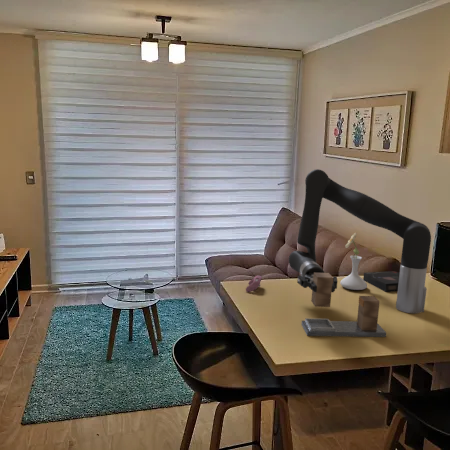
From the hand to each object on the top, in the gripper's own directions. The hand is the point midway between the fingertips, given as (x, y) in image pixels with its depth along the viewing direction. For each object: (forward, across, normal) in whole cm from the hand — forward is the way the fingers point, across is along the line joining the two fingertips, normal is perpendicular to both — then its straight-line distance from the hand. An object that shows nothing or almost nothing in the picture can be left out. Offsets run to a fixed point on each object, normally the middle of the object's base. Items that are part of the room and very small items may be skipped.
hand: (324, 289), depth 150 cm
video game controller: (-44, -17, +16) cm, 50 cm away
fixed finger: (-2, +16, +14) cm, 21 cm away
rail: (-2, +8, +15) cm, 17 cm away
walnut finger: (-3, 0, +6) cm, 7 cm away
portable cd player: (-53, +45, +16) cm, 72 cm away
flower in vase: (-47, +26, +16) cm, 56 cm away
